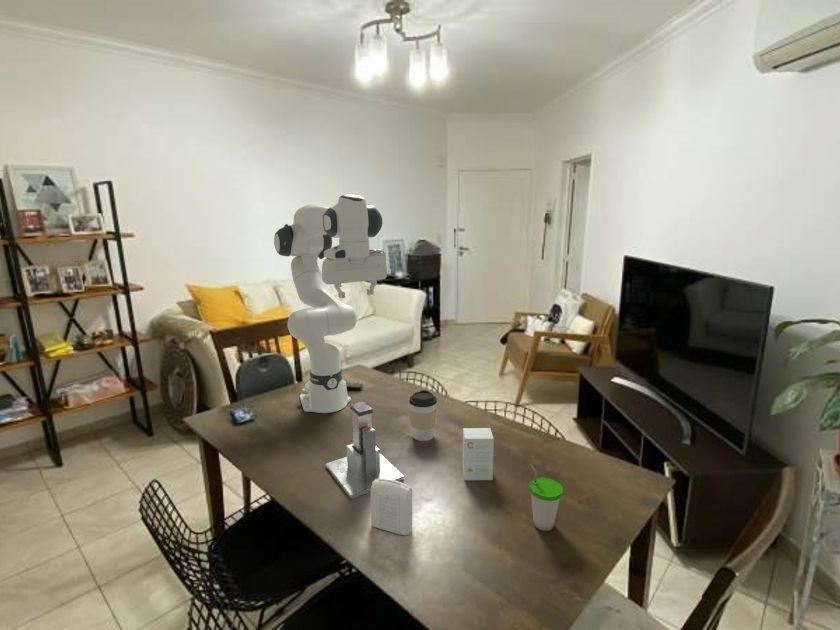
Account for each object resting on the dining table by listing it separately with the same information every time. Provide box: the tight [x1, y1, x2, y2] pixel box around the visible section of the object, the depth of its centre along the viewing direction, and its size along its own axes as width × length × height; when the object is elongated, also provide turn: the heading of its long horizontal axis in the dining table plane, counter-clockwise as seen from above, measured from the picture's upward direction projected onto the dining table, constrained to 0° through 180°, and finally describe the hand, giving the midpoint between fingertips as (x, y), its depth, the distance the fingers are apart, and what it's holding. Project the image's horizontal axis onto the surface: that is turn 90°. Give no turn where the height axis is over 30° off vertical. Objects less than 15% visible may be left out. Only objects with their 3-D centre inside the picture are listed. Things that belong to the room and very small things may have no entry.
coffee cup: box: [408, 389, 438, 442], centre depth 149 cm, size 9×9×15 cm
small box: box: [462, 427, 495, 481], centre depth 127 cm, size 8×6×13 cm
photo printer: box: [370, 479, 413, 536], centre depth 107 cm, size 10×4×12 cm, turn 69°
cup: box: [528, 463, 564, 532], centre depth 107 cm, size 8×8×15 cm
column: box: [349, 401, 374, 454], centre depth 127 cm, size 6×4×19 cm, turn 32°
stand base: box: [325, 427, 405, 500], centre depth 128 cm, size 18×16×16 cm
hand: (356, 296), depth 138 cm, fingers open, 8 cm apart
